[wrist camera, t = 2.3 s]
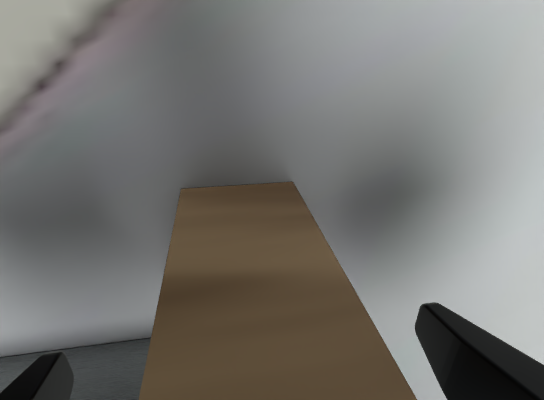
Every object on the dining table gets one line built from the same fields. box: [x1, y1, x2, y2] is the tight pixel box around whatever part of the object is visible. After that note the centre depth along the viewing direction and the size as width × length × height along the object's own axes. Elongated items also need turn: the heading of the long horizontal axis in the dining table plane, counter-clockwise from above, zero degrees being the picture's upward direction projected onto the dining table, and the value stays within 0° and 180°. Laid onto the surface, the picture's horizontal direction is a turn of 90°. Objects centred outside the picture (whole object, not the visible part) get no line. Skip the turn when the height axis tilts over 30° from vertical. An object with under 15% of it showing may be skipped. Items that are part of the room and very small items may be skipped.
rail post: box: [139, 182, 417, 400], centre depth 8 cm, size 4×4×10 cm
